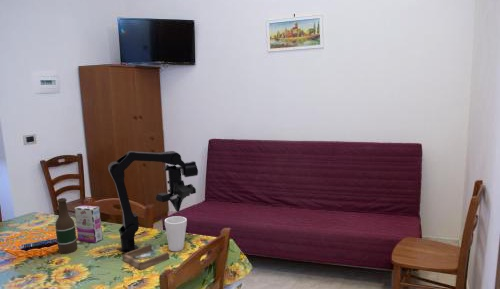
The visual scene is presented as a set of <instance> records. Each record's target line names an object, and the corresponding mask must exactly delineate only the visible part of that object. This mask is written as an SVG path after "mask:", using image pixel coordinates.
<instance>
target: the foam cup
mask: <svg viewBox="0 0 500 289" xmlns="http://www.w3.org/2000/svg"><path fill="white" fill-rule="evenodd" d="M187 224H188V220H187V217H184V216H180V215H179V216H178V215H175V216H169V217H167V218H165V219H164V227H165V232H166V239H167V245H168V246H167V247H168V250H169V251H171V252H179V251H182V250H184V246H185V239H186V230H187Z"/></svg>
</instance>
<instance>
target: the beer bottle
mask: <svg viewBox="0 0 500 289" xmlns="http://www.w3.org/2000/svg"><path fill="white" fill-rule="evenodd" d="M56 200H57V201H56V202H57V207H58V208H57V209H58V217H57V219H56V222H55V225H54V226H55V234H56V242H57V249H58V248H59V250H58V252H59V253H60V254H61V255H68V254H71V253H74V252H75V251H77V250H78V239H77V232H76V223H75V221H74V220H73V218H72V217H71V216H70V213H69V210H68V205H67V198H65V197H62V198H58V199H56Z"/></svg>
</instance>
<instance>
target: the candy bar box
mask: <svg viewBox="0 0 500 289" xmlns="http://www.w3.org/2000/svg"><path fill="white" fill-rule="evenodd" d="M100 210H101V209H100V206H95V205H84V204H81V205H79V206H76V207H74V215H75V226H76V231H77V232H76V235H77V242H78V241H79V242H86V243H93V244H96V243H99V242H101V241H102V240H103V239H104V238H103V230H102V229H103V228H102V219H101V211H100Z"/></svg>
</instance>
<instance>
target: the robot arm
mask: <svg viewBox="0 0 500 289" xmlns="http://www.w3.org/2000/svg"><path fill="white" fill-rule="evenodd" d="M135 161H136V162H137V161H139V162H159V163H164V164H166V165H165V166H164V167H163V170H164V171H165V172H167V173H168V175H167V176H168V181H167V182H166V183H167V184H168V185H169V186H168V187H169V189H167V192H168V193H167V192H160V193H157V194H156V196H155V201H158V202H160V203H166V202H169V201H170V203H171V205H172V206H173V208H174V210H175V211H176V212H180V209H181V206H182V202H183V200H184V199H185V198H187V197H190V195H193V194H196V193H197V189H196V188H195V186H194V185H193V184H192V183H190V184H185V182H184V180H182V176H183V177H185V178H190V177H191V178H192V177H196V176H198V174H199V170H198V166H197V163H196V161H193V160H192V161H190V162H184V160H183V159H182V156H181V154H180V153H178V152H176V151H174V150H168V151H162V152H151V151H149V152H147V151H134V150H129V151H128V152H126V153H125V154H124V155H123V156H121V157H119V158H118V159H116V161H112V162H110V163H109V165H108V166H107V168H108V172H109V174H110V176H111V178H112V180H113V182H114V184H115V185H114V186H115V188H116V192H117V197H118V201H119V203H120V208H121V210H122V225H121V226H120V228H119V229H118V232H119V234H120V244H121V246H120V247H119V248H117V249H118V251H120V252H122V253H123V254H125V253H128V252H130V251H133V250H136V249H139V247H138V246H136V244H135V243H136V242H135V237H136V233H137V232H138V230H139V228H140V225H141V224H140V221H139V218H138V217H139V216H138V215H137V213H136V212H133V210H132V207H131V203H130V202H131V201H130V199H129V194H128V192H127V188H126V184H125V170H126V169H127V168H128V167H130V165H131V164H132V163H133V162H135Z"/></svg>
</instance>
